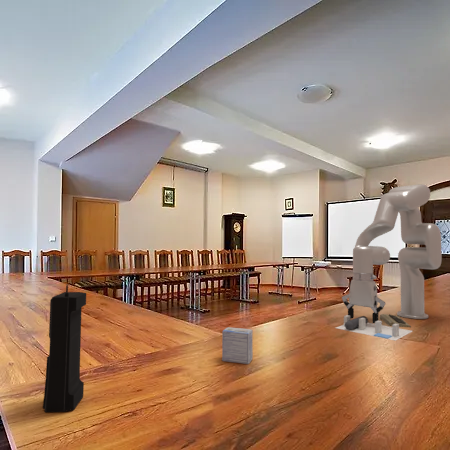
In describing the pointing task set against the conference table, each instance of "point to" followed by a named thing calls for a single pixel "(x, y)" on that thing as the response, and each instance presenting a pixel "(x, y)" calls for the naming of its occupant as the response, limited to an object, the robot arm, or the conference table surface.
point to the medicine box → (237, 345)
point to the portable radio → (64, 353)
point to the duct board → (376, 329)
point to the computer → (393, 320)
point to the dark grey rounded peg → (354, 323)
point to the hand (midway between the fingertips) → (362, 320)
